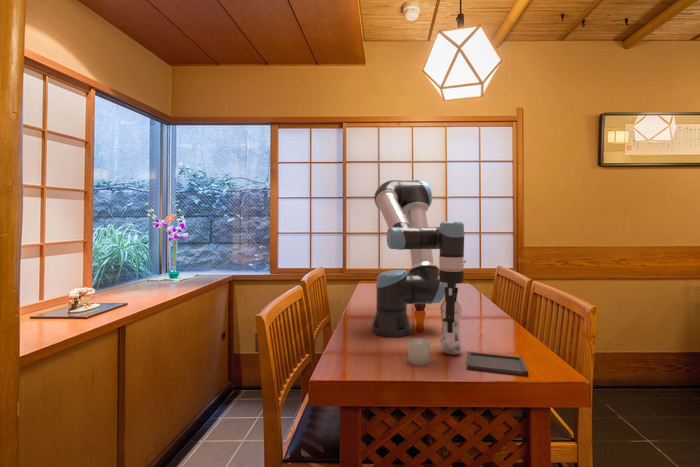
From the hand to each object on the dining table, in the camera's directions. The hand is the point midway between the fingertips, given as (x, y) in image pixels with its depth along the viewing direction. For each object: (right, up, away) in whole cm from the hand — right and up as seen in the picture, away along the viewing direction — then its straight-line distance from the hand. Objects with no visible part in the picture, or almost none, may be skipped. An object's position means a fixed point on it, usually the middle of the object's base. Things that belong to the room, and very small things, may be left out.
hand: (450, 336), depth 120 cm
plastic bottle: (0, -6, 0) cm, 6 cm away
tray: (+11, -6, -10) cm, 15 cm away
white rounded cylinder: (-12, -6, -7) cm, 15 cm away
